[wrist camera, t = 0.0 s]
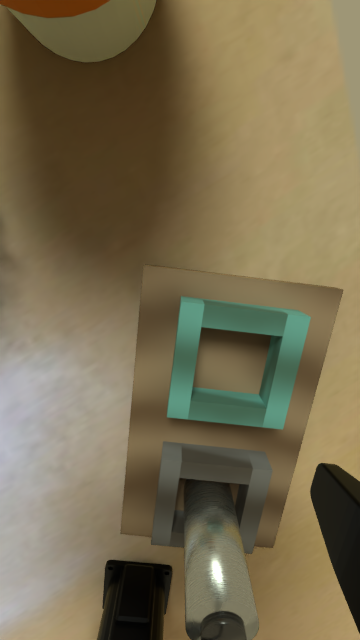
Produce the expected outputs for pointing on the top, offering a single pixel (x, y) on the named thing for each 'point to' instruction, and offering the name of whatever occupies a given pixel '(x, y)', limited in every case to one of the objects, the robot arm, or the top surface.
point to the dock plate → (221, 395)
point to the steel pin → (215, 566)
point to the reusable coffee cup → (83, 25)
